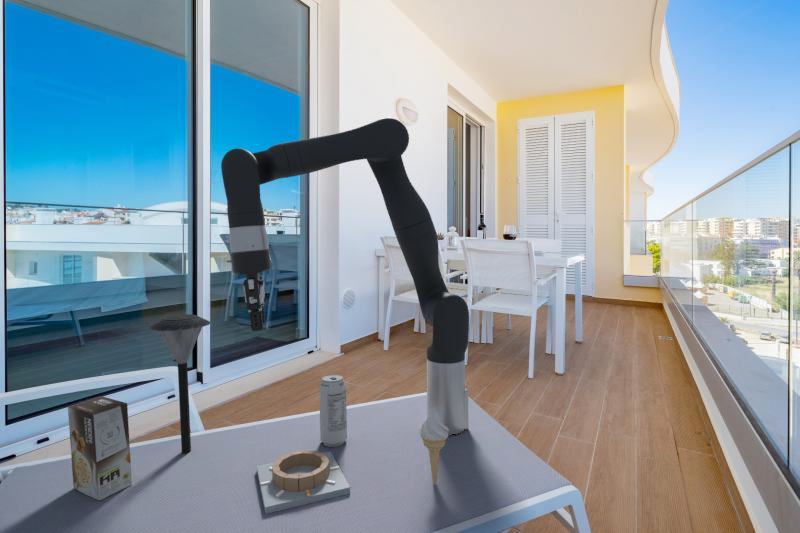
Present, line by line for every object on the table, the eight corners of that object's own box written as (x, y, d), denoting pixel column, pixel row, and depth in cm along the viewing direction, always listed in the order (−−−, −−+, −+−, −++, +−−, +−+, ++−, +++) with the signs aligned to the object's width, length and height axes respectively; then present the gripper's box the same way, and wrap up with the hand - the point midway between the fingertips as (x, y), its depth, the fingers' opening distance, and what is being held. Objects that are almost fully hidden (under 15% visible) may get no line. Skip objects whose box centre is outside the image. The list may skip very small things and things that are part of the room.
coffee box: (134, 484, 86) (129, 402, 85) (98, 502, 80) (93, 414, 79) (106, 473, 90) (101, 395, 89) (70, 489, 84) (65, 406, 83)
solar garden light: (216, 458, 95) (210, 319, 93) (151, 470, 91) (144, 324, 89) (216, 435, 107) (211, 310, 105) (158, 444, 102) (151, 314, 100)
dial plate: (330, 456, 96) (329, 439, 95) (350, 493, 82) (349, 473, 82) (256, 471, 90) (256, 453, 90) (265, 514, 76) (264, 493, 76)
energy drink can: (340, 433, 107) (339, 372, 106) (351, 443, 102) (350, 378, 101) (316, 440, 103) (315, 376, 102) (327, 450, 98) (325, 383, 97)
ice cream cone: (429, 495, 81) (429, 414, 80) (414, 480, 86) (413, 404, 85) (455, 487, 83) (455, 408, 82) (439, 473, 88) (438, 399, 87)
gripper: (267, 247, 86) (276, 330, 87) (270, 248, 100) (278, 319, 101) (226, 250, 84) (236, 335, 85) (234, 251, 98) (243, 324, 99)
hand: (258, 327), depth 93 cm, fingers open, 8 cm apart
